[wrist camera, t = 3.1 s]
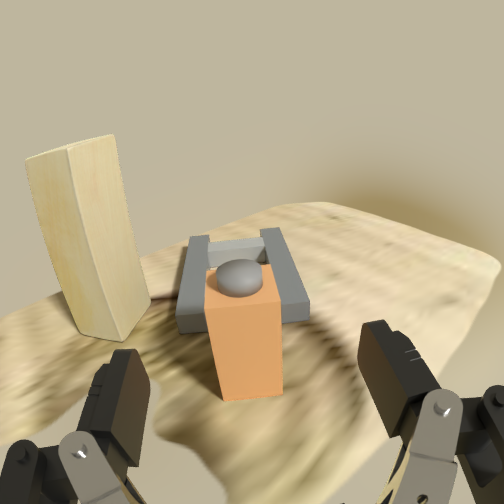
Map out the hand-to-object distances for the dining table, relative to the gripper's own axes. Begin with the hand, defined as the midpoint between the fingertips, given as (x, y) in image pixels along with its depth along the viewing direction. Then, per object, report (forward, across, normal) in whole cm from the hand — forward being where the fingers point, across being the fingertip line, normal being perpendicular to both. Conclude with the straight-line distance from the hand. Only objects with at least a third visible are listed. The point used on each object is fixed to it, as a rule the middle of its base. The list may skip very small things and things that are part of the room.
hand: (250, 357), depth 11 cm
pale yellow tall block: (+22, +16, +14) cm, 31 cm away
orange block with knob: (+12, 0, +14) cm, 18 cm away
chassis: (+29, 0, +14) cm, 32 cm away
